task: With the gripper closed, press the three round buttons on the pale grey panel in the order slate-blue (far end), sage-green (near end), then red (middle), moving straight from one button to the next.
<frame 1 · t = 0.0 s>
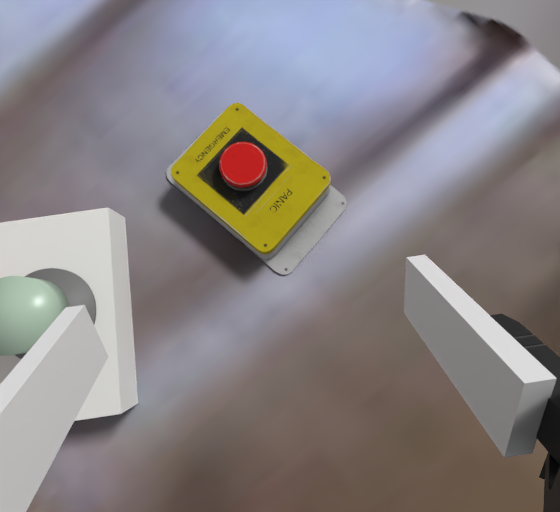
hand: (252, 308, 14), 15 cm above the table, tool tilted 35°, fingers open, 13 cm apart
emergency button: (256, 191, 32), on the table
sage-green button: (21, 314, 23), point 6 cm above the table, slide at 0.0 cm
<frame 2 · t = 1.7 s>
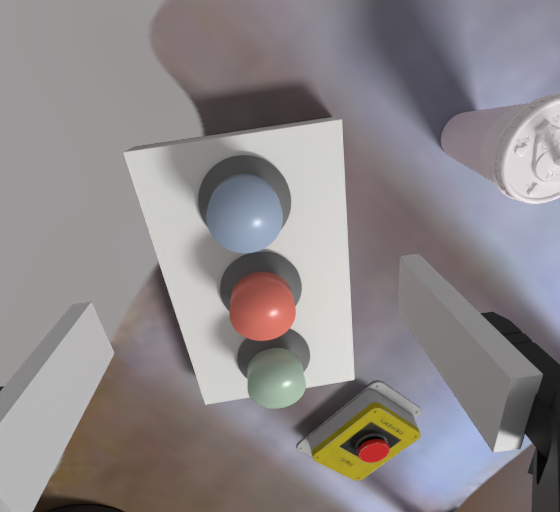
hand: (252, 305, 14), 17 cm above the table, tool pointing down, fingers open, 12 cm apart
emergency button: (356, 424, 45), on the table
slate-blue button: (245, 213, 24), point 6 cm above the table, slide at 0.0 cm
red button: (262, 306, 28), point 6 cm above the table, slide at 0.0 cm
sage-green button: (275, 378, 31), point 6 cm above the table, slide at 0.0 cm
button panel: (260, 272, 33), on the table
smoothie: (460, 135, 29), on the table
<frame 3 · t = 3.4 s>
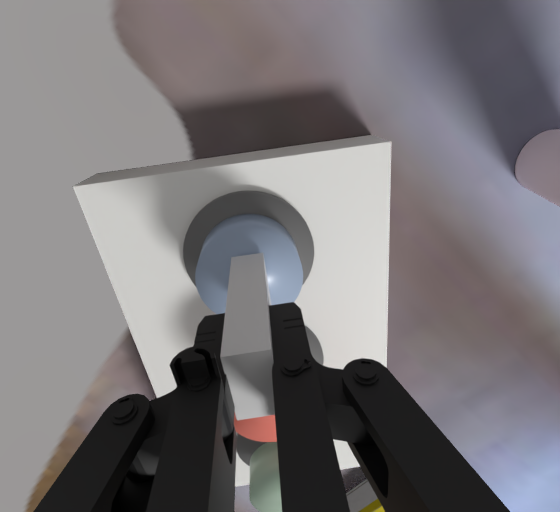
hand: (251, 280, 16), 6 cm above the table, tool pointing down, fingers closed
emergency button: (378, 497, 37), on the table
slate-blue button: (249, 269, 17), point 5 cm above the table, slide at 1.0 cm, touching gripper
red button: (271, 395, 20), point 6 cm above the table, slide at 0.0 cm
sage-green button: (287, 477, 24), point 6 cm above the table, slide at 0.0 cm
button panel: (266, 332, 25), on the table
smoothie: (541, 159, 21), on the table
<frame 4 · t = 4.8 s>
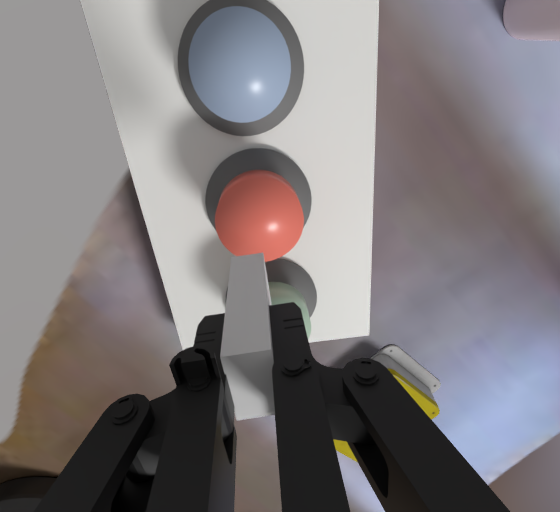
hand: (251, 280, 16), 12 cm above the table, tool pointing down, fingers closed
emergency button: (363, 397, 38), on the table
slate-blue button: (241, 69, 18), point 5 cm above the table, slide at 1.2 cm
red button: (259, 216, 21), point 6 cm above the table, slide at 0.0 cm
sage-green button: (273, 320, 24), point 6 cm above the table, slide at 0.0 cm
button panel: (258, 190, 26), on the table
smoothie: (529, 6, 22), on the table
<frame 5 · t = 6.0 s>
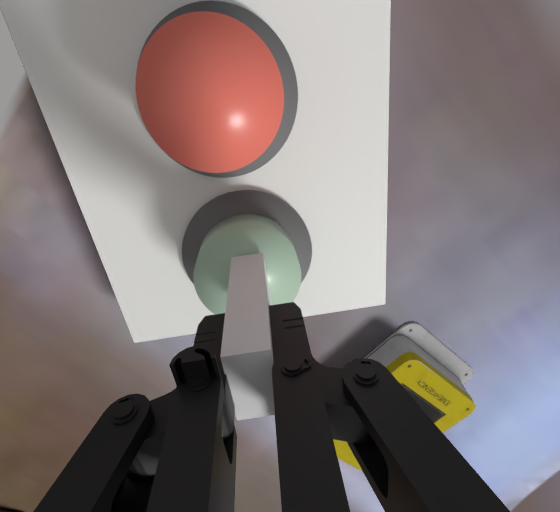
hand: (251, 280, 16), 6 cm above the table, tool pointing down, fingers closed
emergency button: (375, 393, 30), on the table
red button: (214, 99, 13), point 6 cm above the table, slide at 0.0 cm
sage-green button: (248, 269, 17), point 5 cm above the table, slide at 0.9 cm, touching gripper
button panel: (223, 97, 18), on the table
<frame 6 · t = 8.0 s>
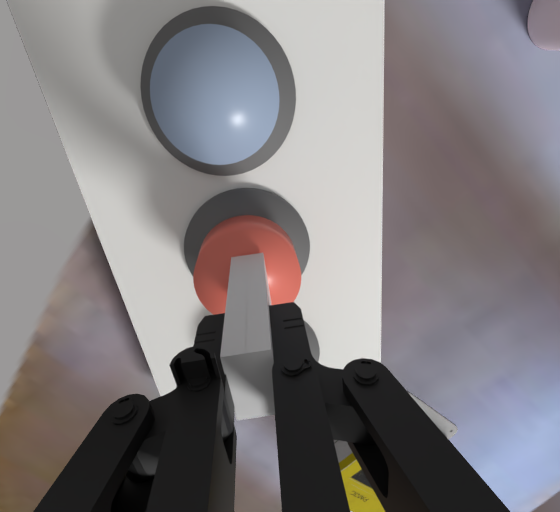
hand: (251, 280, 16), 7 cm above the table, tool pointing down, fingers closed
emergency button: (372, 445, 35), on the table
slate-blue button: (218, 99, 15), point 5 cm above the table, slide at 1.2 cm
red button: (248, 270, 17), point 6 cm above the table, slide at 0.2 cm, touching gripper
button panel: (247, 230, 23), on the table
smoothie: (557, 12, 19), on the table
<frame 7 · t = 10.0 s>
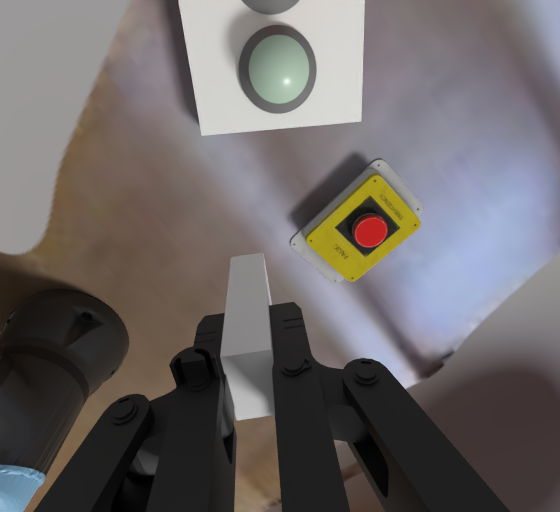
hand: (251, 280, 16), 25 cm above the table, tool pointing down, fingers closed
emergency button: (354, 224, 43), on the table
sage-green button: (278, 71, 30), point 5 cm above the table, slide at 1.2 cm
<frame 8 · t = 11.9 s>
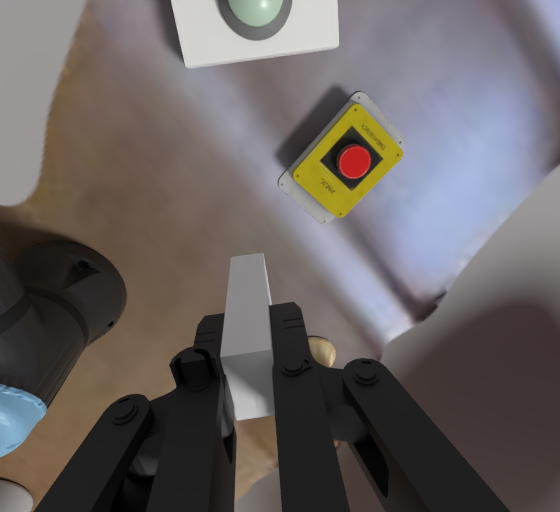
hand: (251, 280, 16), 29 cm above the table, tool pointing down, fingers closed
cylinder vase: (1, 495, 67), on the table
emergency button: (339, 162, 44), on the table
hand bell: (311, 354, 57), on the table
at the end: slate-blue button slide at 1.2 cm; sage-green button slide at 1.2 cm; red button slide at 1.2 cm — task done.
